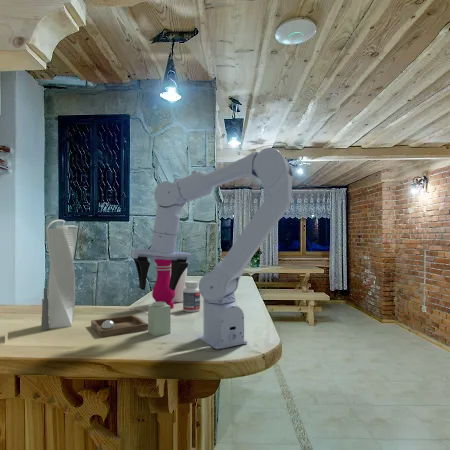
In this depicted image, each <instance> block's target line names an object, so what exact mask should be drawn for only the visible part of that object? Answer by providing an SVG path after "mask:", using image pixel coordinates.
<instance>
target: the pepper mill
mask: <svg viewBox="0 0 450 450" xmlns="http://www.w3.org/2000/svg"><path fill="white" fill-rule="evenodd" d="M156 257H162V256H156ZM171 258H172V257H171ZM153 261H154V263H155V264H156V265H155V270H156V273H157V275H156V281H155V283H154V286H153V289H152V292H151V293H152V295H151V297H152V298H153V299H154V300H155V301H154V302H166V304H167V305H169V306H170V310H171V309H173V308H174V307H175V306H174V303H175V302H173V301H172V299H173V298H174V296H175V290H171V289H170V288H169V283H170V270H171V265H170V264H171V260H165V259H153Z"/></svg>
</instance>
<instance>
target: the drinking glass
mask: <svg viewBox="0 0 450 450" xmlns="http://www.w3.org/2000/svg"><path fill="white" fill-rule="evenodd" d="M186 262H187V263H188V261H186ZM170 265H171V264H170ZM170 277H171V270H170ZM187 277H188V267H187V268H186V269H185V271H184V272H183V274H182V275H181V277H180V279H179V281H178V283H177V286H176V288H175V296H174V298H173V299H172V301H173V302H174V303H183V290H184V289H185V288H186V286H185V282H186V281H188V280H187V279H188V278H187Z"/></svg>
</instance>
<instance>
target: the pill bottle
mask: <svg viewBox="0 0 450 450" xmlns="http://www.w3.org/2000/svg"><path fill="white" fill-rule="evenodd" d="M185 286H186V288H185V289H184V290H183V302H182V309H183V311H184V312H187V313H195V312H199V311H200V310H201V294H200V291H199V281H197V280H186V282H185Z"/></svg>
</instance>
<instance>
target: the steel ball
mask: <svg viewBox="0 0 450 450" xmlns="http://www.w3.org/2000/svg"><path fill="white" fill-rule="evenodd" d="M113 328H115V324H114V322H113V321H111V320H106V321H105V322H103V324H102V329H103V330H106V329H113Z"/></svg>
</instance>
